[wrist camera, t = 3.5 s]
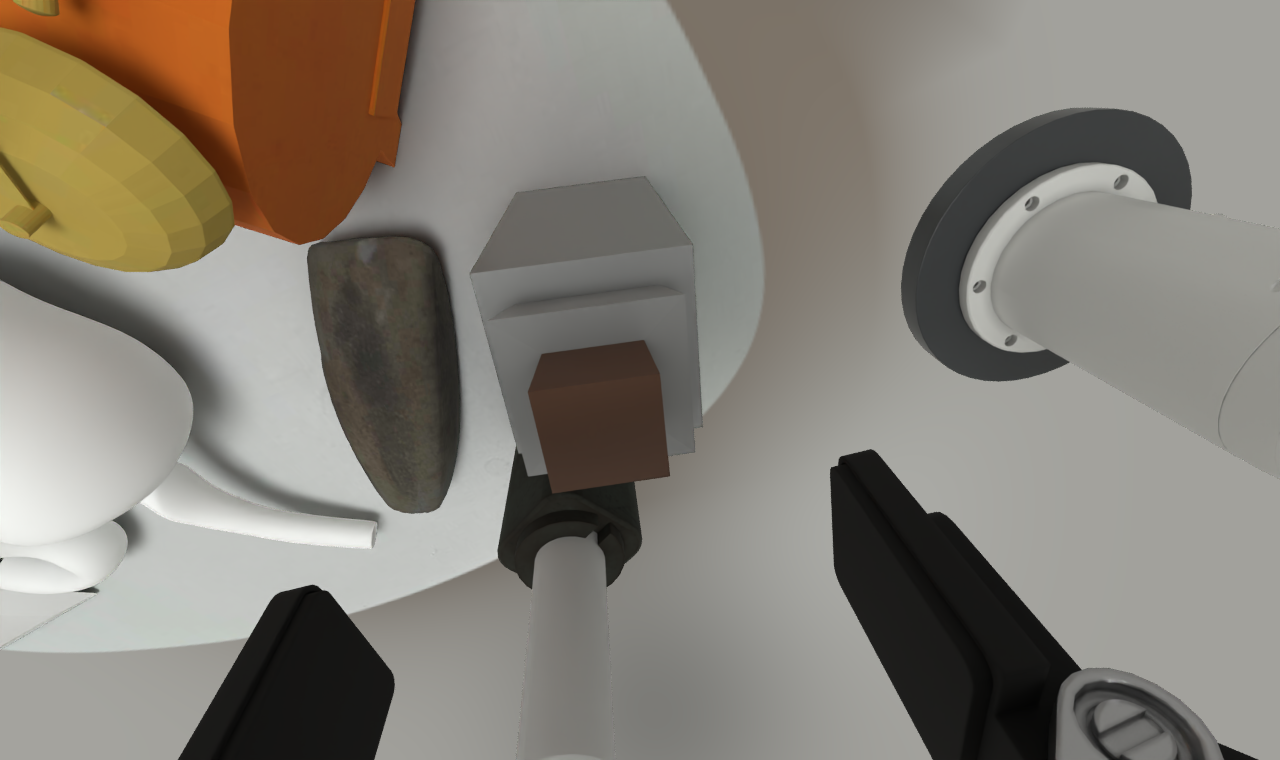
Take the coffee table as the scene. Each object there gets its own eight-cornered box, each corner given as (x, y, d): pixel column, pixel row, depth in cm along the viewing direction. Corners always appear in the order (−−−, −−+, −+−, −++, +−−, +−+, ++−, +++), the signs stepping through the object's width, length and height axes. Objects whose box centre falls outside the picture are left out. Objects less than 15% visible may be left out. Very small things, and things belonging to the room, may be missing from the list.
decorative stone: (312, 223, 27) (271, 244, 24) (441, 224, 28) (421, 245, 24) (379, 483, 36) (357, 528, 32) (478, 479, 36) (467, 523, 33)
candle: (516, 403, 34) (401, 985, 12) (566, 346, 32) (536, 898, 10) (580, 442, 36) (580, 1004, 14) (629, 391, 34) (717, 934, 12)
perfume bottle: (516, 192, 27) (433, 336, 12) (644, 176, 28) (729, 296, 12) (541, 312, 31) (502, 548, 15) (656, 297, 31) (733, 513, 15)
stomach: (29, 482, 38) (396, 494, 44) (-131, 693, 29) (359, 667, 35) (-257, 180, 22) (378, 270, 29) (-804, 437, 13) (304, 479, 20)
